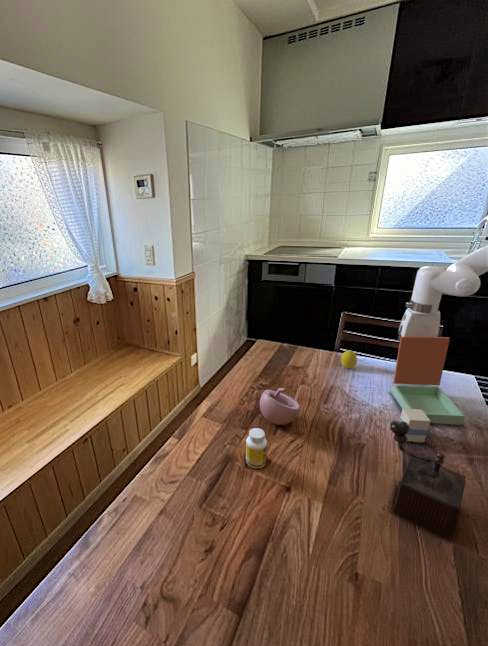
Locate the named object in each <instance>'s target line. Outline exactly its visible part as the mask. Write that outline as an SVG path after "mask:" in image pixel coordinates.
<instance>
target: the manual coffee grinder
mask: <svg viewBox="0 0 488 646" xmlns="http://www.w3.org/2000/svg"><path fill="white" fill-rule="evenodd" d="M389 428H390V431H391V432H392V433H393V434H394V435H393V440H394V441H395V442H397V446H398V449H399V451H400V452H402V453H403V454H404V455H407V456H409V457H410V458H409V460H408V462H407V464H406V467H405V469H404V472H403V473H402V477H401V483H400V485H399V489H398V492H397V495H396V498H395V500H394V505H393V513H394V514H395V515H397V516H399V517H400V518H403V519H405V520H407V521H409V522H411V523H413V524H415V525H417V526H419V527H421V528H423V529H425V530H427V531H430V532H432V533H433V534H435V535H438V536H441V537H442V538H444V539H446V540H450V538H451V535H452V533H453V529H454V527H455V524H456V521H457V518H458V515H459V512H460V510H461V506H462V504H463V499H464V492H465V488H466V475H463V474H460V473H458V472H456V471H454V470H450V469H448V468H446V467H444V466H443V464H444V463H445V458H446V456H445V454H444V453H443V452H438V453H437V454H436V457H430V456H424V455H421V454H418V453H414V452H411V451H409V450H407V449H406V448H405V446H404V443H405V442H408V441H407V440H408V439H407V437H406V434H407V432H408V431H409V429H410V427H409V425H408V424H407V422H404V421H401V420H400V419H395V420H392V421H391V422H390V424H389Z"/></svg>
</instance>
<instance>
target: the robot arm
mask: <svg viewBox="0 0 488 646" xmlns="http://www.w3.org/2000/svg"><path fill="white" fill-rule="evenodd" d="M485 273H488V244H487V245H485V246H482V247H480V248H478V249H476V250H474V251H472V252H470V253H468V254H467V255H465V256H463V257H462V258H460V259H459V260H456V261H455V262H454V263H452V264H450V266H448V267H447V268H446V269H445V268H443V267H441V266H440V267H439V266H432V265H431V266H430V265H429V266H422V267H420V268H419V269H418V270H417V271H416V275H415V280H414V285H413V290H412V294H411V299H410V300H409V302H405V305H404V306H405V308H406V310H405V312H404V314H403V316H402V319H401V321H400V324H399V328H398V335H397V338H396V339H397V341H398V342H399V343H400V339H401V337H439V333H440V332H439V331H440V327H441V326H440V325H441V311H440V310H439V307H440V304H441V303H440V302H441V299H442V295H443V294H445V295H450V296H455V297H468V296H469V297H470V296H472V295H474V294H475V293H477V291H479V289H480V288H481V279H480V277H479V276H481V275H483V274H485Z"/></svg>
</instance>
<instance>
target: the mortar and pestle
mask: <svg viewBox="0 0 488 646" xmlns="http://www.w3.org/2000/svg"><path fill="white" fill-rule="evenodd" d="M286 391H287V388H286V387H279V388H278V389H277V390H272V389H264V391H263V392H262V394H261V396H260V398H259V409H260V412H261V414H262V416H263V417H264V418H265V419H266V421H268V422H269V423H272V424H274V425H278V426H285V425H288V424H290V423H292V422H293V421H295V420H296V418H297V417H298V415H299V413H300V410H301V406H300V404H299V403H298V401H297V400H296V399H294V398H293V397H292V396H290V395H288V394H284V393H285V392H286ZM282 392H284V393H282Z"/></svg>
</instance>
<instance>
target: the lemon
mask: <svg viewBox="0 0 488 646" xmlns="http://www.w3.org/2000/svg"><path fill="white" fill-rule="evenodd" d="M357 363H358V356H357V354H356V352H355V351H352V350H351V349H349V350H346V351H344V352H343V353H342V354H341V357H340V364H341V366H342V367H343V368H345V369H347V370H349V369H352V368H354V367H355V366H356V365H357Z"/></svg>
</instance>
